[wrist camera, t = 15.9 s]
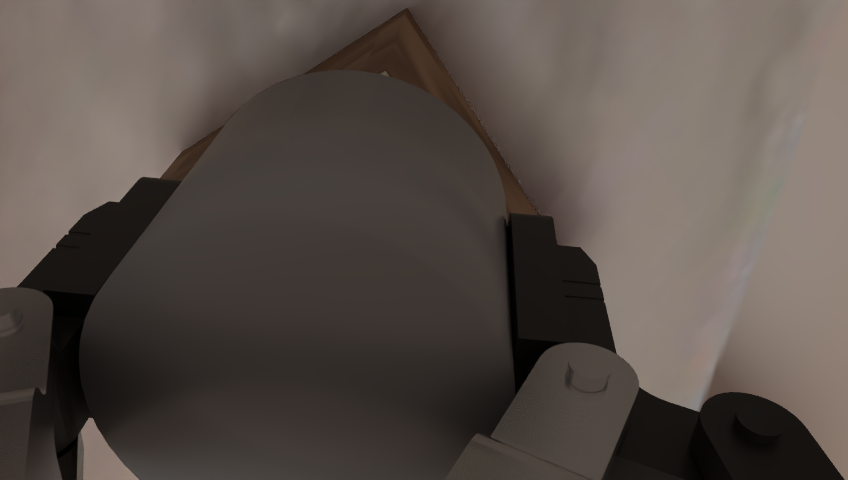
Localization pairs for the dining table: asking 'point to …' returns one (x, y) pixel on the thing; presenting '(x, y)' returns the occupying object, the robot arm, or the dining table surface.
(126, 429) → the grey rounded cylinder
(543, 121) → the dining table surface
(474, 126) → the storage box
